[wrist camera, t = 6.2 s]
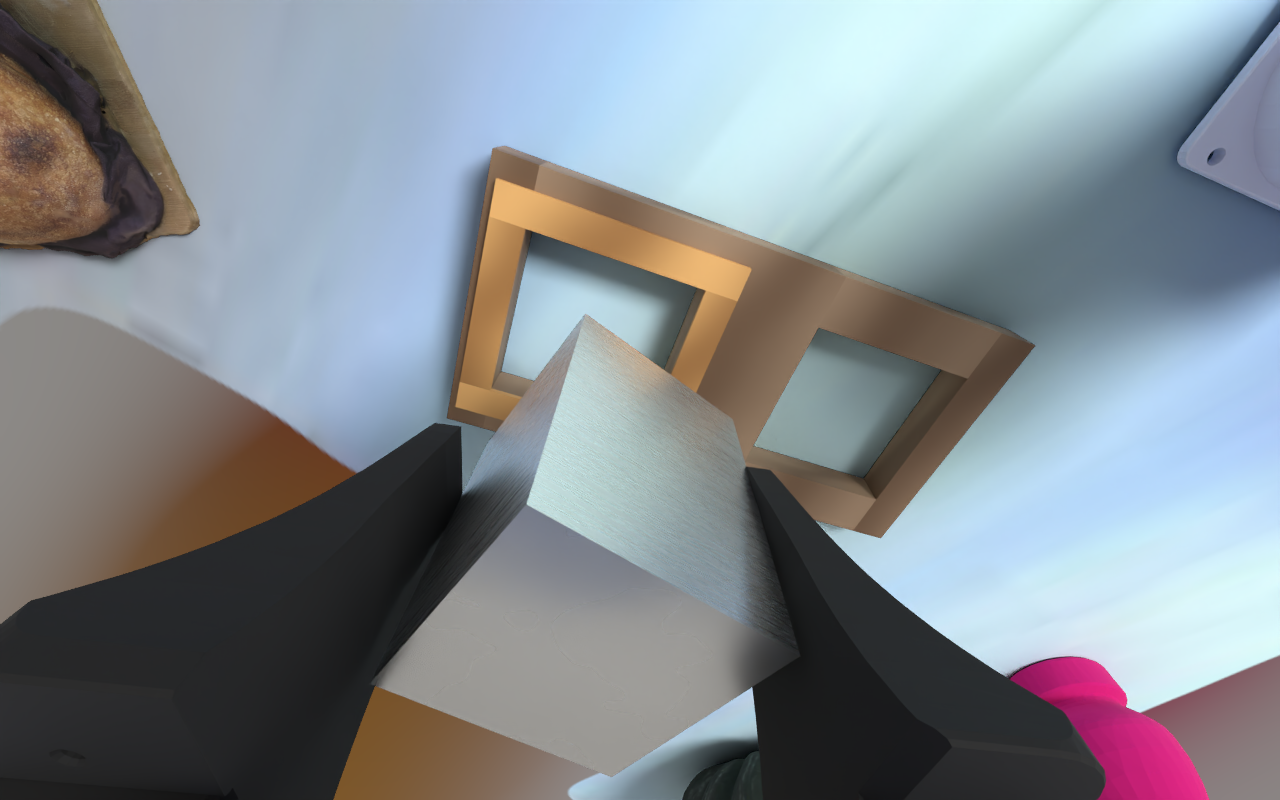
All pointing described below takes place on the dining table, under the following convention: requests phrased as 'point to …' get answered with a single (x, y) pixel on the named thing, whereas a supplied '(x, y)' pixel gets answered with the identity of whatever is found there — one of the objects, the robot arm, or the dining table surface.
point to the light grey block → (597, 568)
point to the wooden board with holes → (731, 329)
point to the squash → (728, 781)
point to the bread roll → (78, 138)
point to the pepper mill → (1115, 732)
